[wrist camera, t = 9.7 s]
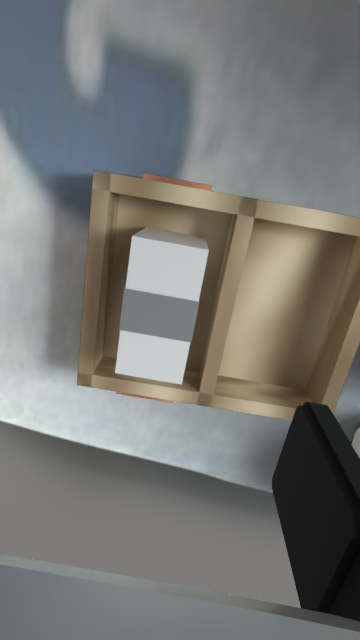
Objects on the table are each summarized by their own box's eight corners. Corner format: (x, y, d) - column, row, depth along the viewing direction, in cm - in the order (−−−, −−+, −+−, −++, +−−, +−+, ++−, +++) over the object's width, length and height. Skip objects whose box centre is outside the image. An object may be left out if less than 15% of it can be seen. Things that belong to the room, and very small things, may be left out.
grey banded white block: (205, 237, 23) (209, 250, 18) (184, 344, 26) (182, 385, 20) (146, 226, 23) (130, 235, 17) (131, 334, 26) (113, 373, 20)
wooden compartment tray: (371, 216, 23) (405, 220, 20) (309, 399, 28) (326, 429, 25) (110, 169, 23) (93, 164, 19) (92, 362, 28) (76, 388, 24)
